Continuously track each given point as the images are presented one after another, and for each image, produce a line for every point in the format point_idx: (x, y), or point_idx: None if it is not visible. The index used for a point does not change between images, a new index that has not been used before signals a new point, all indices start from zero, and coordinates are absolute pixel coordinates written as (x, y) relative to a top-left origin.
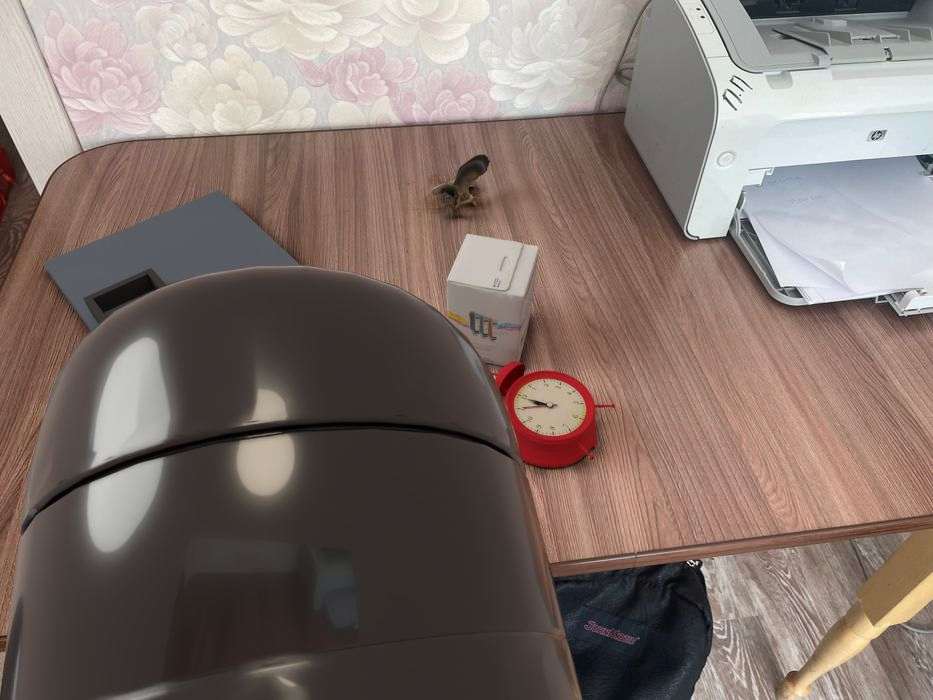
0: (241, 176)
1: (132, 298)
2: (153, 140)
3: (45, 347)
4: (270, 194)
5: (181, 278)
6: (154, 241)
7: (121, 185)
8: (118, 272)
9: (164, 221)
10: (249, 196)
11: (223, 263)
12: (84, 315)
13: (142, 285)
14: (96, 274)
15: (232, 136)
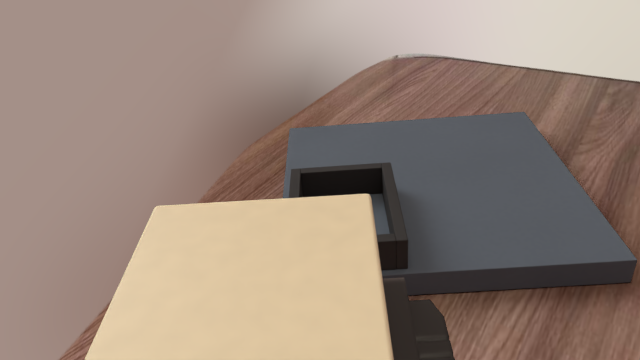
0: (557, 110)
1: (349, 194)
2: (469, 61)
3: None
4: (592, 137)
5: (423, 192)
6: (415, 142)
7: (414, 89)
8: (354, 161)
9: (439, 126)
10: (560, 133)
11: (491, 193)
12: (286, 193)
13: (368, 181)
14: (330, 155)
15: (561, 73)
